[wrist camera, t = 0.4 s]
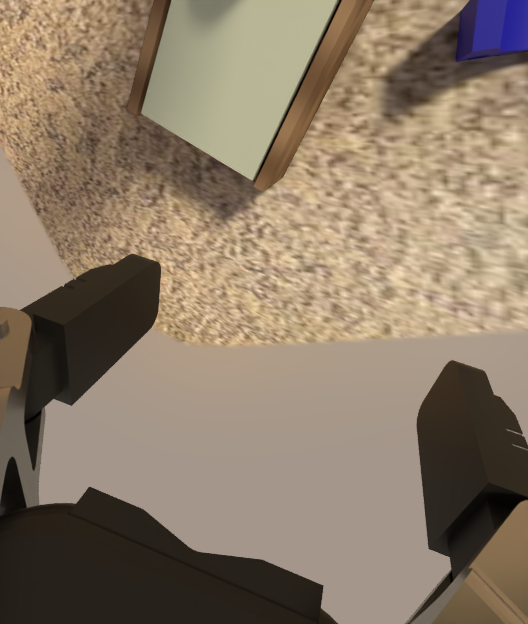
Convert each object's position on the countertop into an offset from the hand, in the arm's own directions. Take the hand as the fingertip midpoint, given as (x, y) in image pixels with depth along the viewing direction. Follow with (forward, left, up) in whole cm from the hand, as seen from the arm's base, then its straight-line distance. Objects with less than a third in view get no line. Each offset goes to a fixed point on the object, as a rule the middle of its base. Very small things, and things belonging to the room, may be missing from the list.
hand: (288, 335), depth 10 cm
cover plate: (-5, -11, -21) cm, 24 cm away
